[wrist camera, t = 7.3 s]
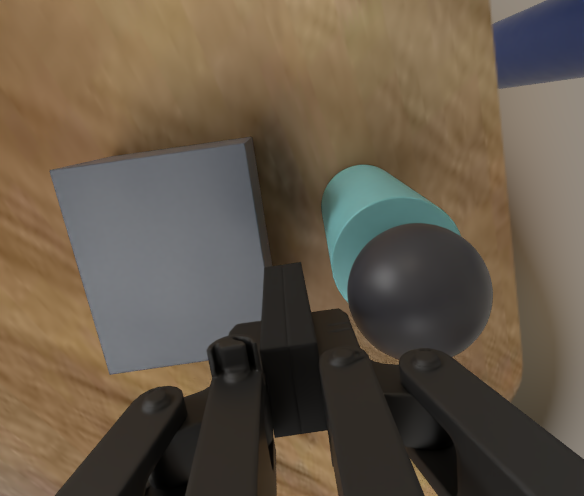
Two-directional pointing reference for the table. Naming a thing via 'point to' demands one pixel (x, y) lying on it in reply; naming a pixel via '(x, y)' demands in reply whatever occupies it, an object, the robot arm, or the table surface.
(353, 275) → the teal cylinder with ball
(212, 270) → the gray block
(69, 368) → the table surface
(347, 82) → the table surface
